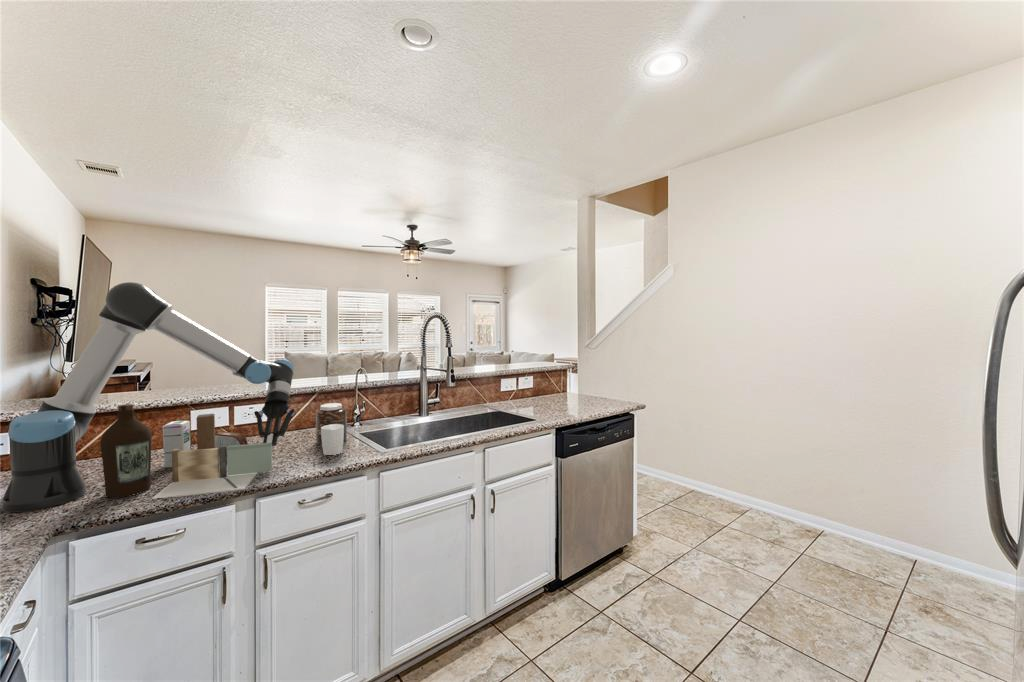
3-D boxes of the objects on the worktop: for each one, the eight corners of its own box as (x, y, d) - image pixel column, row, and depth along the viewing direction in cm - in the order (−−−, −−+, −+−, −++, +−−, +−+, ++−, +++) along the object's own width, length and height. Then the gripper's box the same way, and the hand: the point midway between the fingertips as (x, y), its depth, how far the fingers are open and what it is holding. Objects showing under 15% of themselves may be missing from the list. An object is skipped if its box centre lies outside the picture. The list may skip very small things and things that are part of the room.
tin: (248, 455, 149) (248, 433, 149) (241, 458, 146) (240, 435, 146) (216, 452, 153) (215, 430, 153) (208, 455, 150) (207, 432, 150)
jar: (352, 441, 168) (351, 405, 167) (323, 447, 160) (322, 409, 159) (339, 435, 176) (339, 401, 176) (311, 441, 168) (310, 405, 167)
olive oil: (96, 494, 115) (92, 406, 114) (143, 481, 124) (141, 400, 123) (111, 502, 110) (108, 410, 109) (160, 488, 119) (157, 403, 118)
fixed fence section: (171, 483, 123) (170, 451, 122) (174, 481, 125) (173, 449, 124) (225, 478, 127) (225, 446, 127) (227, 476, 129) (227, 445, 129)
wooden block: (180, 475, 130) (178, 419, 129) (182, 471, 134) (180, 416, 133) (215, 469, 135) (213, 415, 134) (216, 465, 138) (214, 413, 138)
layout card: (151, 499, 112) (151, 497, 112) (176, 480, 126) (176, 478, 126) (244, 489, 119) (244, 488, 119) (258, 472, 133) (258, 470, 132)
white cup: (325, 458, 147) (324, 430, 146) (318, 452, 153) (317, 426, 152) (347, 453, 152) (347, 426, 152) (340, 448, 158) (339, 423, 158)
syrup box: (184, 466, 138) (183, 423, 137) (163, 468, 136) (162, 424, 136) (192, 460, 143) (190, 419, 143) (171, 462, 142) (170, 421, 141)
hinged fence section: (227, 475, 128) (226, 447, 127) (229, 474, 129) (228, 445, 128) (271, 471, 131) (270, 443, 131) (272, 469, 133) (271, 442, 132)
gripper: (299, 400, 156) (291, 457, 141) (260, 402, 152) (248, 461, 137) (296, 389, 151) (288, 446, 136) (255, 390, 147) (242, 450, 132)
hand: (268, 454), depth 136 cm, fingers closed
